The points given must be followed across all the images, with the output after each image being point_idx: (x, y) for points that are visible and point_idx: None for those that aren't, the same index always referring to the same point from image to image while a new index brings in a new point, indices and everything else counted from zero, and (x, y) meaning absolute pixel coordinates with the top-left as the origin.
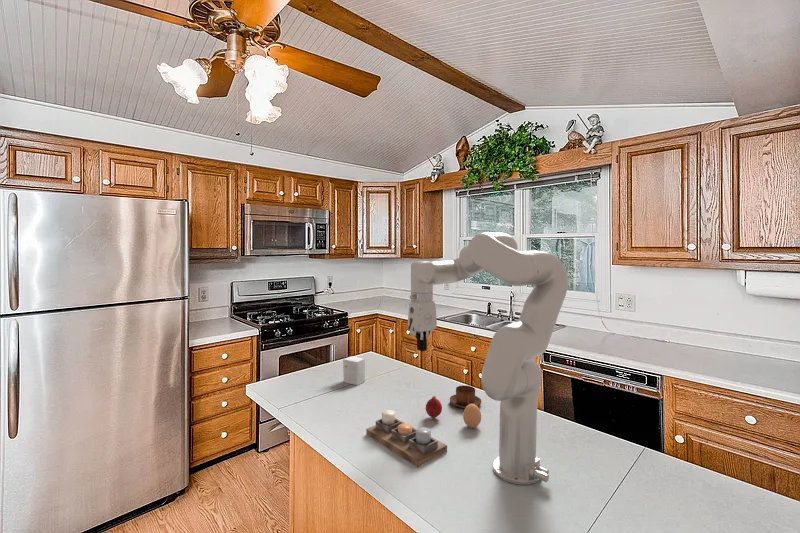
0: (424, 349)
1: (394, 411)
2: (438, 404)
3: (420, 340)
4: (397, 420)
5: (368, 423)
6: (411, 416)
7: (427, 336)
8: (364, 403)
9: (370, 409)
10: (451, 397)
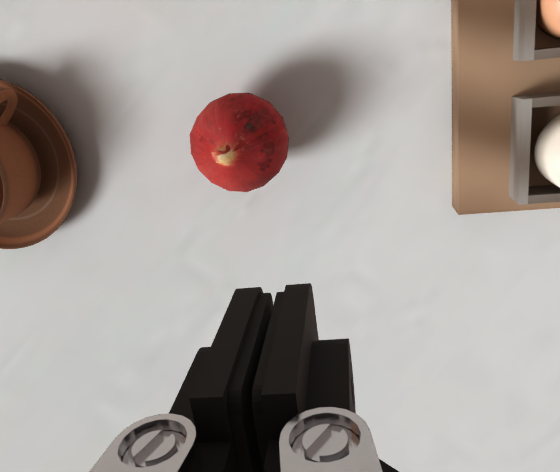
0: (288, 292)
1: (554, 155)
2: (228, 108)
3: (349, 430)
4: (528, 128)
5: (554, 281)
6: (332, 217)
7: (124, 461)
8: (428, 452)
9: (446, 389)
10: (38, 238)
